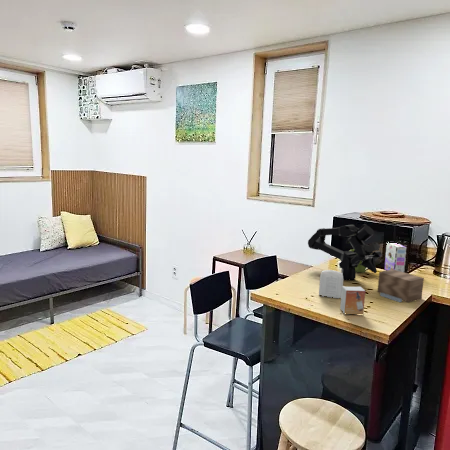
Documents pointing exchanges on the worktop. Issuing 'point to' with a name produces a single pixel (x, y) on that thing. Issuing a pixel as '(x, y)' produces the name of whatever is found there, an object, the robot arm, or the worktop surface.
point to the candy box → (395, 257)
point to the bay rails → (391, 297)
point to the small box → (352, 300)
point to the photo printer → (331, 283)
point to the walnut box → (400, 285)
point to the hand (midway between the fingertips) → (375, 272)
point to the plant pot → (359, 266)
